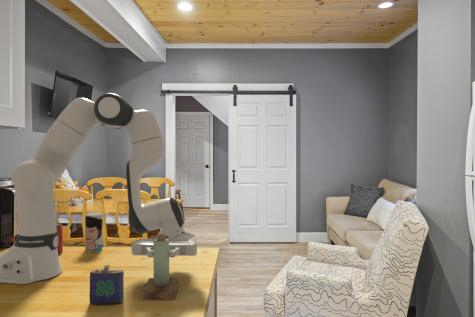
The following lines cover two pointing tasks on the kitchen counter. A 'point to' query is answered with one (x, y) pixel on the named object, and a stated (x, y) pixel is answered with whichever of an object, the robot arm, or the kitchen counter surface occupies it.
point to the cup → (93, 231)
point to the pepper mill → (161, 260)
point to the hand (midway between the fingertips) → (161, 254)
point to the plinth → (160, 290)
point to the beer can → (59, 238)
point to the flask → (106, 286)
